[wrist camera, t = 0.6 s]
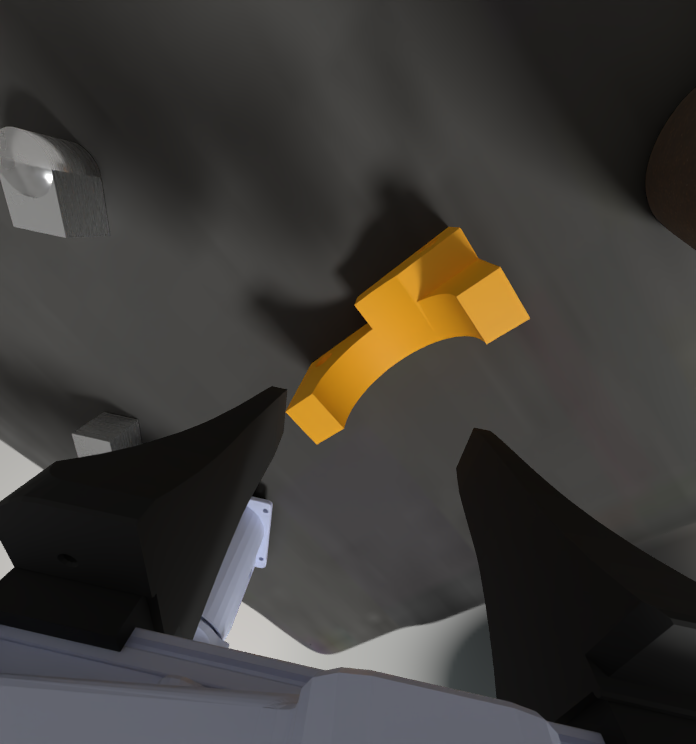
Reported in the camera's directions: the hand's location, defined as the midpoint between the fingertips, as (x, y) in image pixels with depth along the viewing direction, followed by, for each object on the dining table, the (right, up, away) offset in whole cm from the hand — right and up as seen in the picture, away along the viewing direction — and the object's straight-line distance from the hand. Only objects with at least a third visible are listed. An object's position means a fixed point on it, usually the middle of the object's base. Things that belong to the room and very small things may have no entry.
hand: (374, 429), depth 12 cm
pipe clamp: (+1, +6, +9) cm, 10 cm away
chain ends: (-19, +5, +11) cm, 22 cm away
